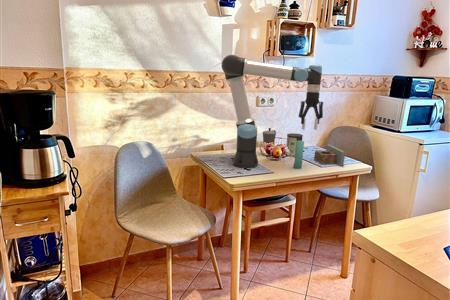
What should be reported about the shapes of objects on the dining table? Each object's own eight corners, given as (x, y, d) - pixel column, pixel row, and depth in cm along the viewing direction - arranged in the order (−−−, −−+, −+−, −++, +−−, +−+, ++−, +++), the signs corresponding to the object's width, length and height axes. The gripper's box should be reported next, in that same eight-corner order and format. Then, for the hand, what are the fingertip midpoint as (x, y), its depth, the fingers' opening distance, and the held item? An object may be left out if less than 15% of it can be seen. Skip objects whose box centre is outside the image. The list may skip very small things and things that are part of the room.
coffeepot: (269, 157, 218) (271, 130, 213) (257, 154, 223) (258, 128, 219) (280, 152, 230) (282, 127, 225) (268, 150, 235) (269, 125, 231)
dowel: (295, 168, 195) (298, 142, 191) (292, 166, 199) (295, 140, 195) (302, 168, 196) (305, 142, 192) (299, 166, 200) (302, 140, 196)
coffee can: (299, 153, 230) (301, 133, 227) (302, 157, 220) (304, 136, 217) (284, 152, 231) (286, 132, 227) (286, 156, 220) (288, 136, 217)
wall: (340, 166, 203) (342, 152, 201) (325, 157, 222) (326, 144, 220) (343, 166, 204) (345, 152, 201) (328, 157, 223) (329, 144, 220)
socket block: (321, 164, 206) (322, 154, 205) (314, 159, 216) (315, 150, 214) (335, 164, 208) (337, 154, 206) (328, 159, 217) (329, 150, 216)
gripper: (299, 91, 193) (296, 130, 199) (331, 92, 197) (327, 130, 203) (294, 90, 201) (291, 128, 206) (326, 91, 204) (321, 128, 210)
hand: (309, 129), depth 204 cm, fingers open, 7 cm apart
